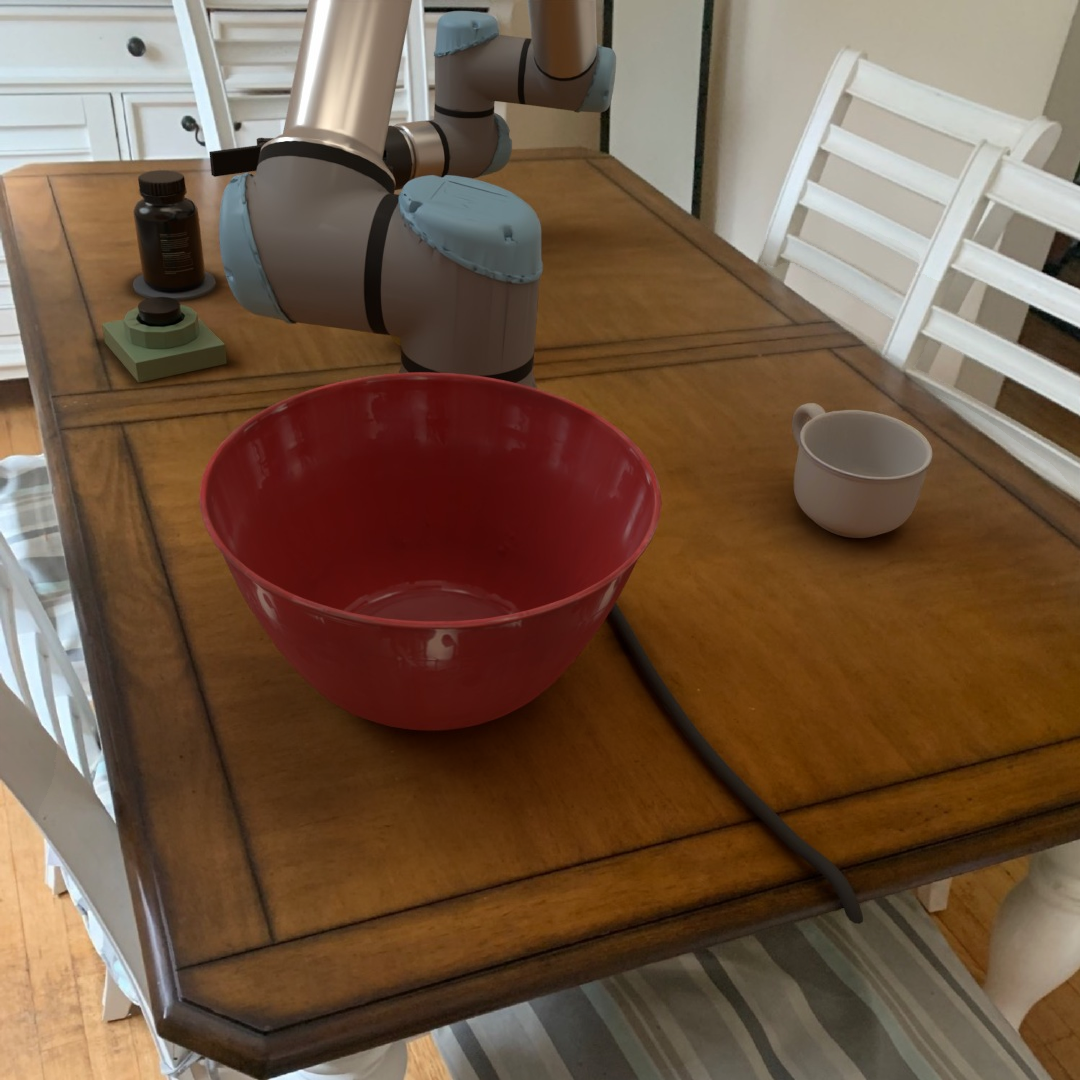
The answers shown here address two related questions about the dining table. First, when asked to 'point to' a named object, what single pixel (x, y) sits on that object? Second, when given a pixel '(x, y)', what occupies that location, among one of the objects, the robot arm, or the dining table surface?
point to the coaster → (193, 293)
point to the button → (159, 312)
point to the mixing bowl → (430, 539)
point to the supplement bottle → (168, 233)
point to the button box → (164, 346)
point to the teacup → (857, 469)
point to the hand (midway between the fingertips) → (238, 181)
